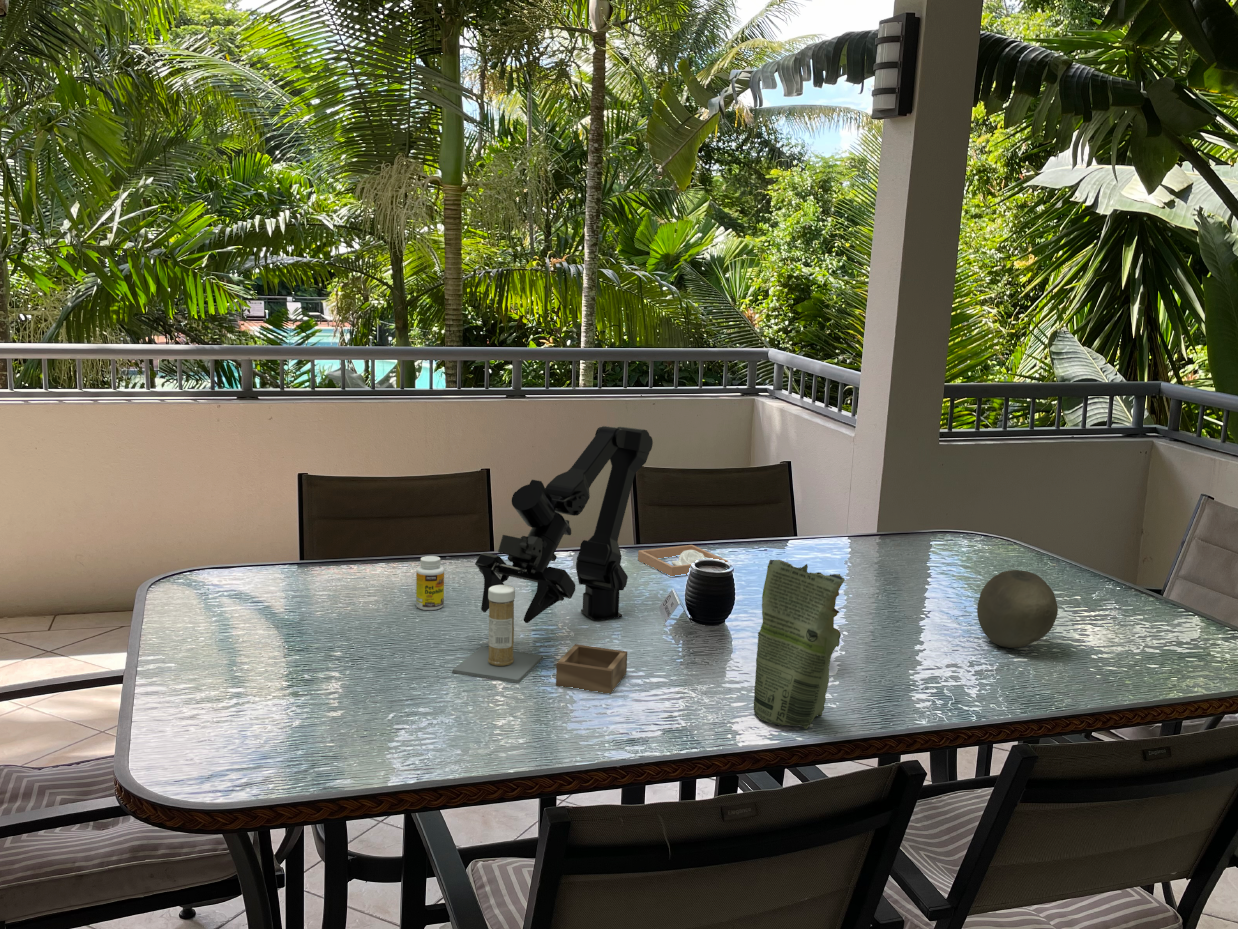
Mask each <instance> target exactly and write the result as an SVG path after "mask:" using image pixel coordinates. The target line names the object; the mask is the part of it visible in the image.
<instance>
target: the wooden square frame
mask: <svg viewBox="0 0 1238 929" xmlns="http://www.w3.org/2000/svg"><path fill="white" fill-rule="evenodd" d="M685 550H695V551H697V552H699V553H702V554H703V555H704V557H707V558H713V559H719V560H724V561H725V562H729V561H728V560H727V559H725V558H722V557H720V556H718V555H716V554H714V553H711V552H709V551H707V550H704V549H702V548H700V547H698V546H696V545H693V544H688V545H687V544H686V545H677V546H670V547H669V546H668V547H660V548H659V547H658V548H650V549H641V550H638V551H637V553H638V555H637V561H638V560H639V561H638V562H640V563H642V562H643V563H642V564H644V563H645V564H644V565H646V564H647V565H646V566H648V565H649V566H651V567H654V568H655V569H658V570H659V571H662V572H663V573H666V574H668V575H670V576H675V575H681V574H686V575H687V573H688V572H689V568H690V566H691V564H687V565H678V566H673V564H669V563H667V562H665V561H664V560H663V559H658V558H664V557H672V556H676V555H680V554H681V553H682V552H683V551H685ZM649 566H648V567H649ZM651 567H650V568H651ZM655 569H654V570H655ZM659 571H658V572H659ZM663 573H662V574H663Z"/></svg>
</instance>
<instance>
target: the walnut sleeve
mask: <svg viewBox="0 0 1238 929" xmlns="http://www.w3.org/2000/svg"><path fill="white" fill-rule="evenodd" d="M555 664H556V666H555V667H556V668H555V669H556V670H555V671H556V672H555V673H556V674H555V687H560V686H563V687H562V688H566V687H573V688H579V689H584V690H583V691H586V690H589V691H588V692H592V691H598V692H597V693H599V692H603V693H602V694H605V693H610V694H609V695H612V693H613V692H614V690H615V689H616V688H617V687H618V685H619V684H620V683H621V681H623V679H624V677H626V675H627V674H626V673H627V672H628V651H627V650H620V649H612V648H605V647H598V646H591V645H584V644H577V643H575V644H574V645H572V646H571V648H570V649H569V650H568V651H567V652H565V654H564V655H562V657H561V658H560V659H559V660H558V661H557V662H556V663H555ZM619 682H620V683H619ZM618 683H619V684H618ZM617 684H618V685H617ZM616 686H617V687H616ZM615 687H616V688H615ZM573 688H572V689H573ZM614 688H615V689H614ZM579 689H578V690H579ZM613 689H614V690H613ZM612 691H613V692H612ZM611 692H612V693H611Z"/></svg>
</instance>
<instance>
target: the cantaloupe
mask: <svg viewBox="0 0 1238 929" xmlns="http://www.w3.org/2000/svg"><path fill="white" fill-rule="evenodd" d="M976 610H977V611H976V612H977V619H978V623H979V625H980V628H981V630H982V632H983V634H984V635H985V636H986V637H987V638H988V640H989V641H990V642H992V643H993V644H995V645H997V646H1000V647H1002V648H1010V649H1017V648H1018V649H1019V648H1023V647H1026V646H1029V645H1031V644H1034V643H1036V642H1037V641H1040V639H1043V638H1045V636H1046V635H1047V634H1048V633H1049V632H1050V631H1051V630H1052V629H1053V627H1054V625H1055V623H1056V620H1057V618H1058V613H1059V606H1058V602H1057V599H1056V595H1055V592H1054V591H1053V590H1052V588H1051V586H1050V585H1049V584H1048V583H1047V582H1046V581H1045V580H1044V579H1043V578H1042V577H1041V576H1039V575H1037V574H1036V573H1034V572H1031V571H1028V570H1019V569H1011V570H1005V571H1002V572H1000V573H997V574H995V575H994V576H993V577H991V578H990V579H989V580H988V581H987V582H986V584H984V586H983V588H982V590H981V592H980V594H979V598H978V601H977V608H976Z"/></svg>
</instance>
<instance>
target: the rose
mask: <svg viewBox="0 0 1238 929" xmlns="http://www.w3.org/2000/svg"><path fill="white" fill-rule="evenodd" d="M703 558H707V557H704V555H703V554H702V553H699V552H697V551H695V550H685V551H683V552H682V553H681V554H680V556H679V557H678V560H672V561H671V565H672V566H678V565H687V564H692V563H693V562H695V561H696V560H698V559H703Z"/></svg>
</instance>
